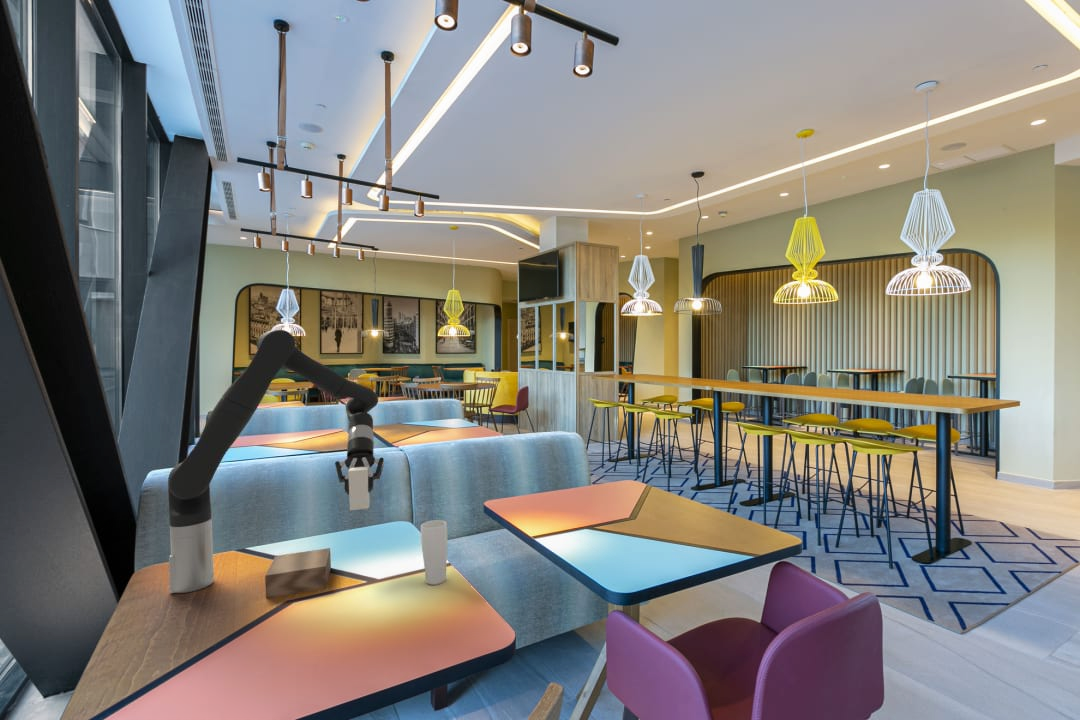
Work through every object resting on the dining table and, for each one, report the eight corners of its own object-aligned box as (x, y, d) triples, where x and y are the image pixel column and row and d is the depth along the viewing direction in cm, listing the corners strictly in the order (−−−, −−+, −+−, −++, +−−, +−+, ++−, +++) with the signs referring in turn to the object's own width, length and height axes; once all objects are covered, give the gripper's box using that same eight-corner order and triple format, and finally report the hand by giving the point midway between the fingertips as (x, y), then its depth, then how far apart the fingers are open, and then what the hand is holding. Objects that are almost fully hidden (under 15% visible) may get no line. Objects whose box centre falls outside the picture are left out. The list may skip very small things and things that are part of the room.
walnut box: (266, 599, 125) (265, 575, 125) (276, 577, 138) (275, 555, 138) (326, 589, 129) (325, 566, 129) (330, 568, 142) (330, 547, 142)
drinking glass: (443, 587, 126) (440, 528, 126) (418, 586, 128) (416, 527, 128) (453, 576, 133) (450, 520, 133) (429, 575, 134) (427, 519, 134)
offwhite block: (349, 510, 139) (348, 471, 140) (351, 505, 144) (350, 467, 144) (368, 508, 141) (367, 469, 141) (369, 503, 146) (368, 466, 146)
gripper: (334, 437, 148) (330, 487, 136) (384, 434, 152) (384, 482, 140) (336, 452, 153) (333, 501, 141) (385, 448, 157) (386, 496, 145)
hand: (358, 491), depth 141 cm, fingers closed on offwhite block, 5 cm apart
